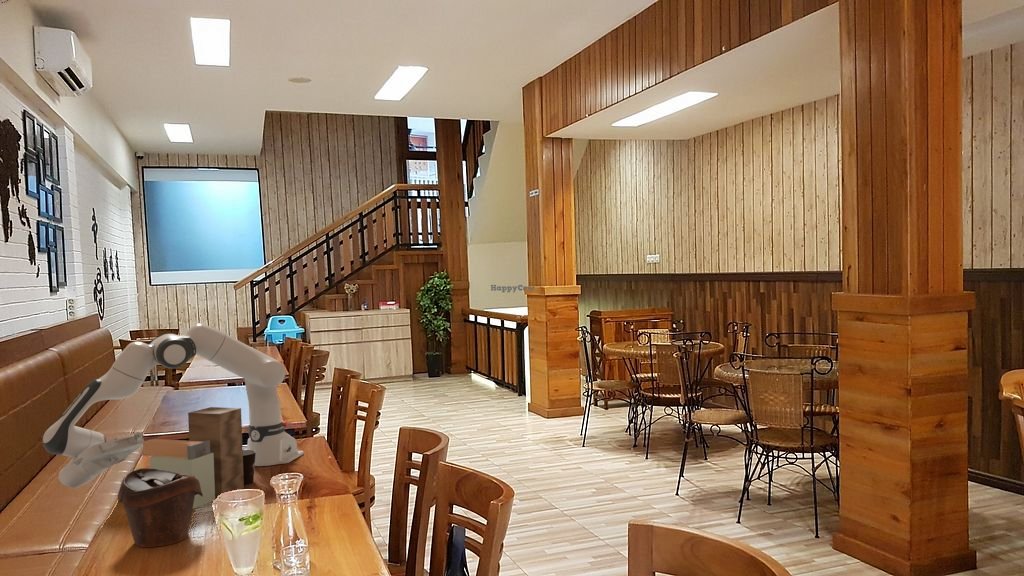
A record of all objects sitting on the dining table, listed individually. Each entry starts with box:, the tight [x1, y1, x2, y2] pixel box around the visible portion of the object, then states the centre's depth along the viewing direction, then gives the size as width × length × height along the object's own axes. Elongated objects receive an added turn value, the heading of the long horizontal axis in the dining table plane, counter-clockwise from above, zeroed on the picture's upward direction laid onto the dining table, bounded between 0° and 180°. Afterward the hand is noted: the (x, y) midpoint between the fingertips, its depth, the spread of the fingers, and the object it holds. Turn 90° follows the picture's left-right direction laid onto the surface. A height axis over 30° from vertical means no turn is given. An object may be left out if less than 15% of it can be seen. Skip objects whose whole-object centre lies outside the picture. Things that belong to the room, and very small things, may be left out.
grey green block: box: [148, 453, 216, 510], centre depth 220 cm, size 9×16×14 cm, turn 71°
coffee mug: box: [243, 449, 256, 486], centre depth 242 cm, size 12×9×10 cm
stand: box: [187, 406, 245, 498], centre depth 230 cm, size 10×12×26 cm
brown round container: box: [117, 467, 203, 549], centre depth 188 cm, size 18×20×18 cm
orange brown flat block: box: [142, 438, 210, 460], centre depth 221 cm, size 8×20×4 cm, turn 71°
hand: (128, 437), depth 226 cm, fingers open, 8 cm apart
